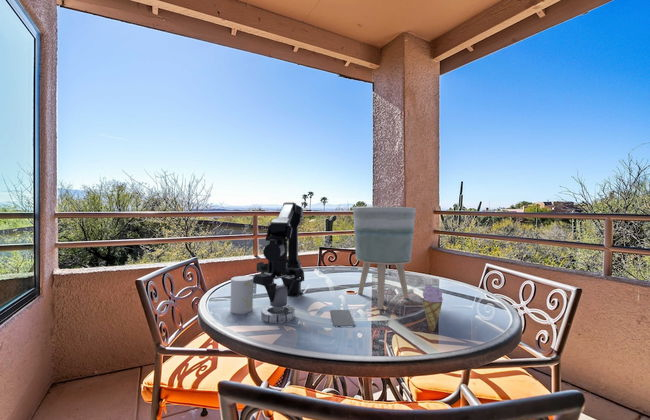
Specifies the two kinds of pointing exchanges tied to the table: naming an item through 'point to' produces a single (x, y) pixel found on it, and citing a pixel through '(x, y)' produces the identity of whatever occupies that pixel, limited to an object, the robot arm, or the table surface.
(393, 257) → the planter
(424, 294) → the ice cream cone
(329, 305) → the table surface
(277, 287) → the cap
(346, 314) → the smartphone
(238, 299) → the grey cylinder
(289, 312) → the segmented grey ring
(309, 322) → the table surface
